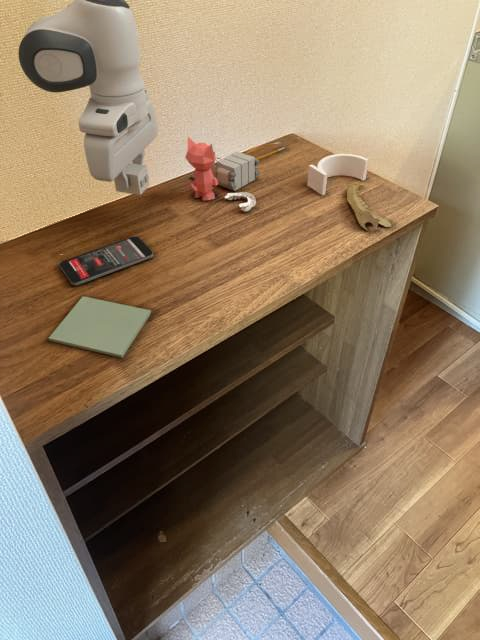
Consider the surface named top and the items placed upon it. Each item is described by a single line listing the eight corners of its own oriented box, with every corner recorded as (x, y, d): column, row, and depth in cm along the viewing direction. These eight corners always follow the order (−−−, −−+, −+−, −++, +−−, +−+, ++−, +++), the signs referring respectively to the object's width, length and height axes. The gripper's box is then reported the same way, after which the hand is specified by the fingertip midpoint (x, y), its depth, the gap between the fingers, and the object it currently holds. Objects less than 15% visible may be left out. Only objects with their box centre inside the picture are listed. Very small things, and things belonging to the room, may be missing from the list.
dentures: (243, 187, 108) (243, 194, 108) (223, 194, 106) (223, 201, 106) (263, 200, 103) (263, 206, 104) (243, 207, 101) (243, 214, 102)
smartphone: (57, 262, 90) (136, 234, 96) (58, 265, 90) (137, 238, 96) (72, 284, 85) (154, 254, 91) (73, 287, 86) (155, 257, 92)
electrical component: (301, 133, 118) (299, 155, 121) (280, 127, 121) (279, 148, 124) (232, 170, 104) (232, 193, 108) (210, 162, 107) (211, 185, 111)
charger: (116, 191, 97) (112, 171, 94) (125, 181, 100) (122, 161, 97) (141, 195, 96) (139, 175, 93) (150, 185, 99) (148, 165, 96)
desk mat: (49, 340, 77) (48, 338, 77) (83, 298, 84) (82, 296, 84) (122, 358, 74) (121, 355, 74) (151, 313, 81) (151, 310, 81)
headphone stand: (324, 175, 104) (368, 159, 109) (305, 163, 108) (349, 148, 113) (322, 195, 107) (365, 179, 112) (304, 183, 111) (346, 168, 116)
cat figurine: (227, 194, 108) (225, 138, 99) (206, 208, 104) (202, 151, 95) (201, 184, 111) (197, 129, 103) (179, 198, 107) (173, 141, 99)
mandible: (396, 226, 97) (385, 240, 99) (362, 182, 109) (353, 195, 111) (374, 216, 95) (363, 230, 96) (342, 172, 106) (333, 185, 108)
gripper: (130, 82, 95) (139, 154, 105) (72, 126, 81) (89, 204, 90) (162, 86, 94) (169, 158, 103) (108, 131, 80) (122, 210, 89)
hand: (131, 180), depth 97 cm, fingers closed on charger, 4 cm apart
